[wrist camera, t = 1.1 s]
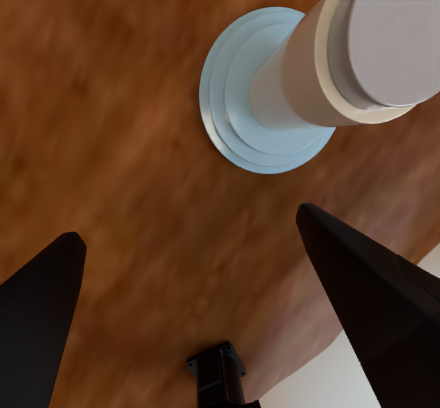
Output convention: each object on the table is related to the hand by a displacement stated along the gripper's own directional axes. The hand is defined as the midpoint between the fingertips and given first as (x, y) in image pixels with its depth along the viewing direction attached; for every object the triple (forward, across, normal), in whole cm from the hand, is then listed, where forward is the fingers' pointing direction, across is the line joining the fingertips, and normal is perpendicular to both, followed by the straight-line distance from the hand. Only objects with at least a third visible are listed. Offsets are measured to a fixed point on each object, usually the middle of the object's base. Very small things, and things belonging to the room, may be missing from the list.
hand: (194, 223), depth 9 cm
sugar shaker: (+12, -8, -1) cm, 15 cm away
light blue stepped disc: (+15, -8, 0) cm, 17 cm away
